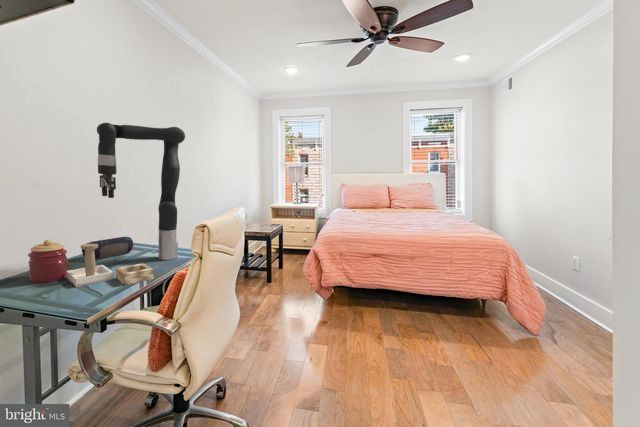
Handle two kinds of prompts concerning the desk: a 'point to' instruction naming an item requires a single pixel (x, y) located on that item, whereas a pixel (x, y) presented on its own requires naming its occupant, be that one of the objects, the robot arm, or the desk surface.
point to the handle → (89, 258)
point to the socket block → (134, 273)
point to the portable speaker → (111, 247)
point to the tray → (80, 277)
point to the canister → (47, 262)
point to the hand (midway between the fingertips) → (107, 197)
